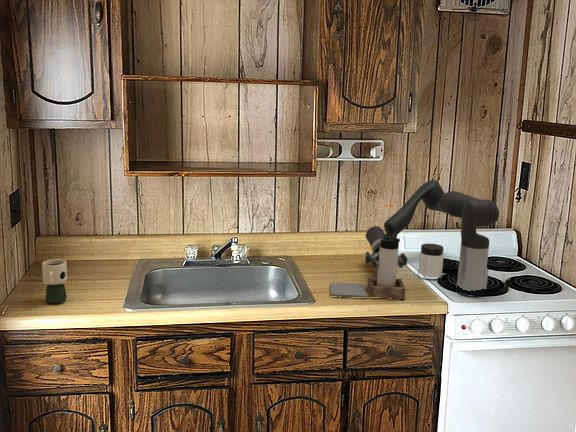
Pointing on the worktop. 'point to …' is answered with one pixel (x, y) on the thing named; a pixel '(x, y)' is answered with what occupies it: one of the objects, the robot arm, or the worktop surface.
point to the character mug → (55, 280)
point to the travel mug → (387, 262)
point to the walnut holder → (386, 289)
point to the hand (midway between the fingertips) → (388, 264)
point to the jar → (431, 260)
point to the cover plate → (347, 290)
